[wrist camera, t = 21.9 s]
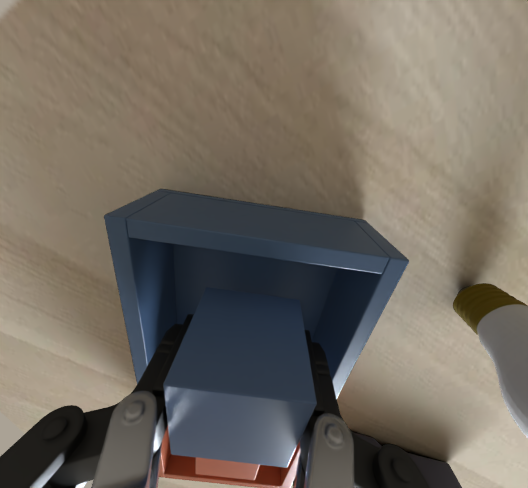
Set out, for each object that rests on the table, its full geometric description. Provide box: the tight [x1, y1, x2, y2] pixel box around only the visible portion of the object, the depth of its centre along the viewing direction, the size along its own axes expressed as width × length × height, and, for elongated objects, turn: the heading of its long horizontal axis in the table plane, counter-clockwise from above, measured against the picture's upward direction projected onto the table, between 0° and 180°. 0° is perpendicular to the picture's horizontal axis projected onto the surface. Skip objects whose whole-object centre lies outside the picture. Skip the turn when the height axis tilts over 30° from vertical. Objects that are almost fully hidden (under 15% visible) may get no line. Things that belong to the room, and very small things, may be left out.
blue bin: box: [104, 189, 409, 399], centre depth 13 cm, size 12×12×4 cm
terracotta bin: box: [159, 426, 301, 488], centre depth 18 cm, size 12×12×4 cm
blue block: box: [163, 287, 317, 468], centre depth 9 cm, size 5×5×5 cm
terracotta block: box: [195, 457, 259, 480], centre depth 18 cm, size 5×5×5 cm
